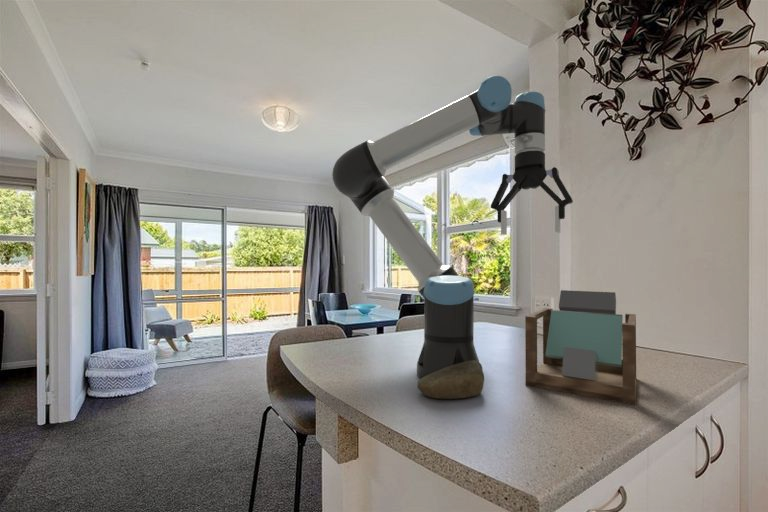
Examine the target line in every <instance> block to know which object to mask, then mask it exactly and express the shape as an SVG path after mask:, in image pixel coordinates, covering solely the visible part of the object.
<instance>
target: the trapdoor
mask: <svg viewBox="0 0 768 512" xmlns="http://www.w3.org/2000/svg"><path fill="white" fill-rule="evenodd" d="M558 308H559V309H558V310H557V309H553V310H552V311H551V318H550V325H549V332H548V340H547V347H546V354H545V355H546V357H550V358H557V359H563V350H564V347H569V348H577V349H586V350H594V351H596V353H597V355H598V364H601V365H609V366H616V367H622V360H623V356H622V324H623V320H624V319H623V314H620V313H619V314H618V313H617V296H616V292H612V291H587V290H565V289H564V290H563V289H561V290H560V293H559V302H558Z"/></svg>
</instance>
